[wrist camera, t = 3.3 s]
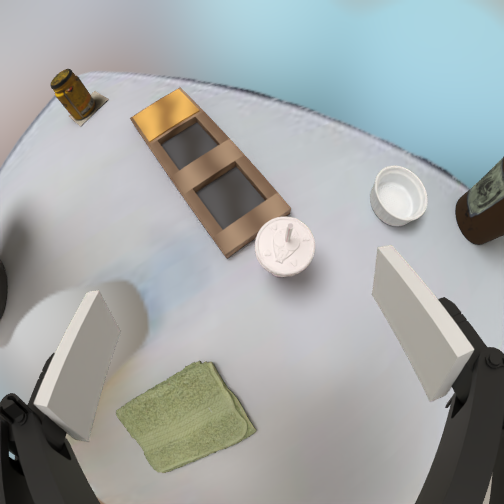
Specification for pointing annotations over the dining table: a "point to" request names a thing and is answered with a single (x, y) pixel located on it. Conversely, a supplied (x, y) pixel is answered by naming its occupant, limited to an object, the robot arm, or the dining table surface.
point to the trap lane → (209, 171)
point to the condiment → (76, 96)
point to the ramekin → (398, 196)
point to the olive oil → (483, 208)
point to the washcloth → (185, 418)
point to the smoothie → (284, 246)
